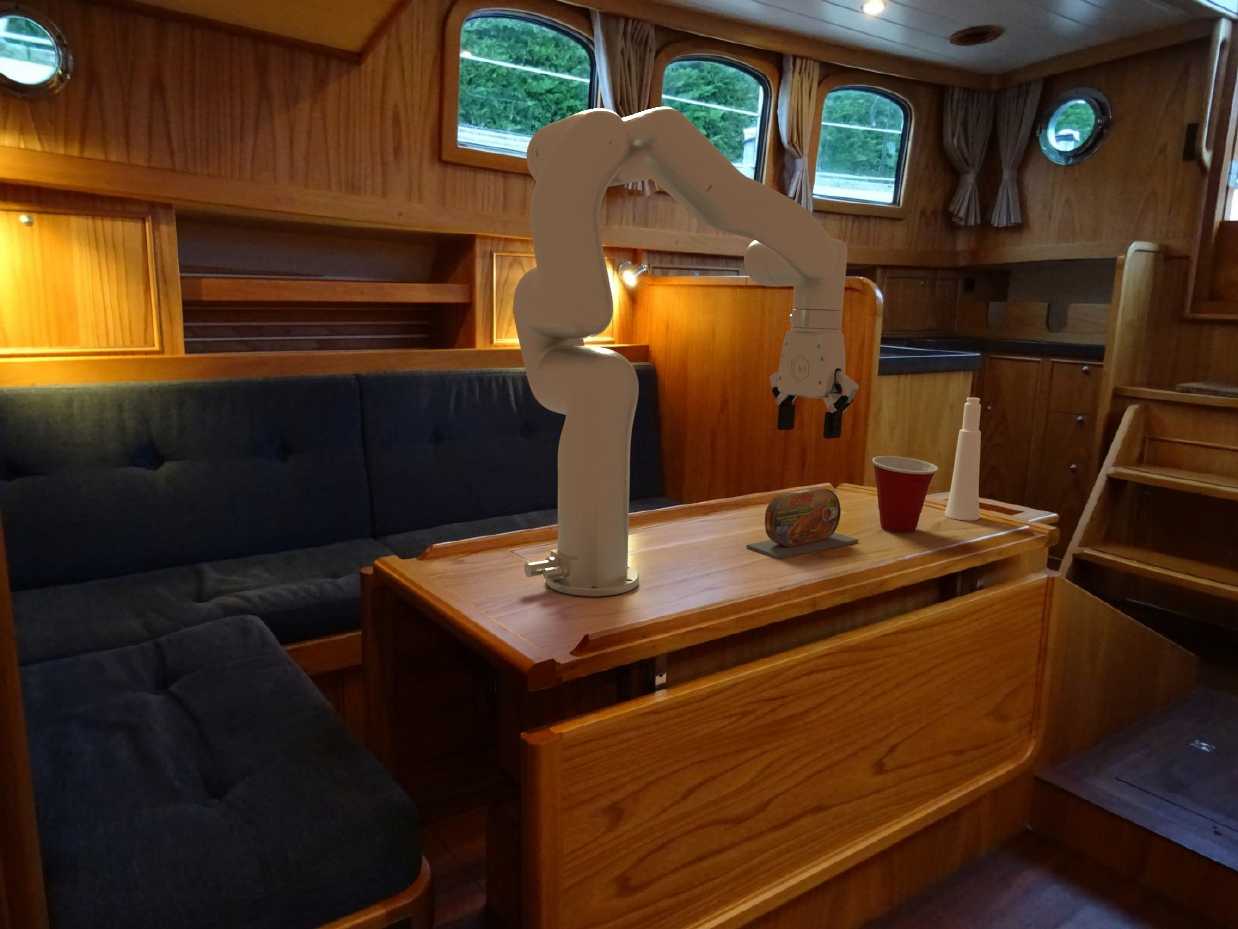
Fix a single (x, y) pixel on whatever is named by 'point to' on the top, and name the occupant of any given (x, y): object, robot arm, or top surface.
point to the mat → (800, 546)
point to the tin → (802, 516)
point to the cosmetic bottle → (966, 467)
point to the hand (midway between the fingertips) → (807, 433)
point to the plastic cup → (901, 491)
